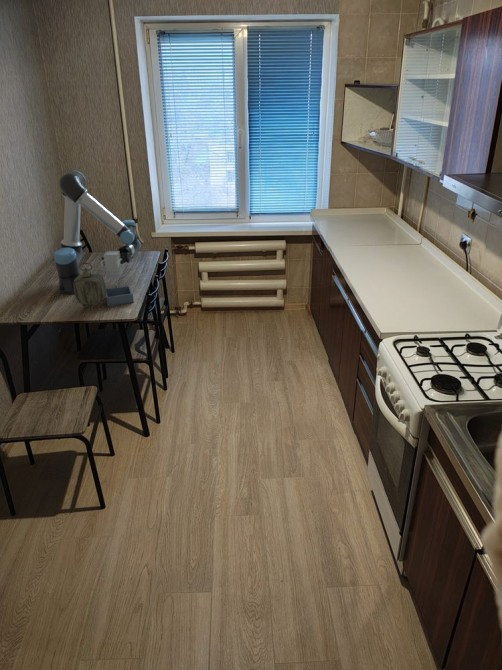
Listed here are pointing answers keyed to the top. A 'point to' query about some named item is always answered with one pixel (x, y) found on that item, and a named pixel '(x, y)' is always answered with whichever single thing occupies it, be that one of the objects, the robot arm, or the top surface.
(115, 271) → the supplement box
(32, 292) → the top surface
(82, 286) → the tabletop clock
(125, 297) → the tote
